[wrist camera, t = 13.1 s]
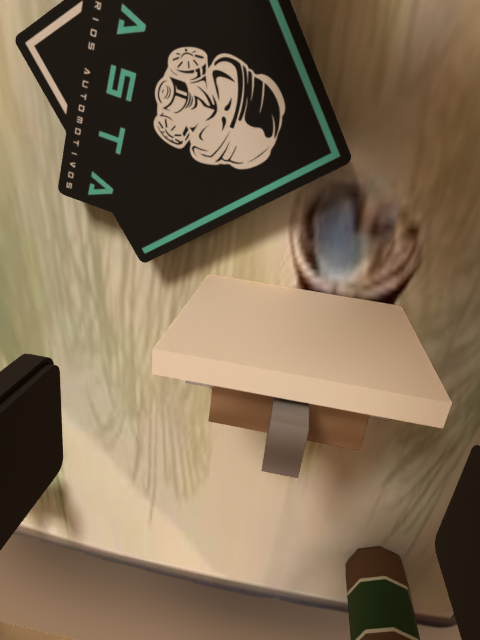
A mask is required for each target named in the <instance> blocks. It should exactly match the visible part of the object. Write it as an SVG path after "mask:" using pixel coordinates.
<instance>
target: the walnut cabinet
mask: <svg viewBox="0 0 480 640" xmlns="http://www.w3.org/2000/svg"><path fill="white" fill-rule="evenodd" d="M368 418H369V415H368V414H363V413H357V412H352V411H347V410H341V409H336V408H331V407H325V406H320V405H315V404H309V403H304V402H299V401H293V400H288V399H283V398H277V397H272V396H267V395H261V394H256V393H251V392H245V391H240V390H235V389H229V388H224V387H219V386H213V388H212V396H211V405H210V414H209V421H210V422H215V423H220V424H225V425H230V426H236V427H241V428H246V429H251V430H256V431H262V432H267V439H266V445H265V452H264V459H263V466H262V471H265V472H270V473H275V474H280V475H285V476H290V477H295V478H298V476H299V471H300V467H301V463H302V458H303V454H304V449H305V445H306V440H308V441H313V442H319V443H324V444H329V445H334V446H339V447H345V448H350V449H355V450H360V446H361V443H362V439H363V436H364V432H365V429H366V425H367V422H368Z"/></svg>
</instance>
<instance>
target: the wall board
mask: <svg viewBox="0 0 480 640" xmlns="http://www.w3.org/2000/svg"><path fill="white" fill-rule="evenodd" d="M152 374H155V375H160V376H165V377H171V378H176V379H181V380H186V382H185V383H190V384H195V385H201V386H206V387H211V388H213V386H219V387H224V388H229V389H235V390H240V391H245V392H251V393H256V394H261V395H267V396H272V397H277V398H283V399H288V400H293V401H299V402H304V403H309V404H315V405H320V406H325V407H331V408H336V409H341V410H347V411H352V412H357V413H363V414H368V415H369V417H371V418H376V419H381V420H388V418H389V419H395V420H400V421H405V422H411V423H416V424H421V425H427V426H432V427H437V428H443V427H444V424H445V421H446V419H447V416H448V413H449V410H450V408H451V405H452V402H451V400H450V398H449V396H448V394H447V392H446V390H445V389H444V387H443V385H442V383H441V381H440V379H439V377H438V375H437V373H436V371H435V369H434V368H433V366H432V364H431V362H430V360H429V358H428V356H427V354H426V352H425V350H424V348H423V347H422V345H421V343H420V341H419V339H418V337H417V335H416V333H415V331H414V329H413V327H412V326H411V324H410V322H409V320H408V318H407V316H406V314H405V312H404V310H403V308H402V306H398V305H392V304H386V303H380V302H374V301H368V300H362V299H356V298H350V297H344V296H338V295H332V294H326V293H320V292H314V291H308V290H302V289H296V288H290V287H284V286H278V285H272V284H266V283H260V282H254V281H248V280H242V279H236V278H230V277H224V276H218V275H212V274H208V275H207V276H206V278H205V279H204V280H203V282H202V283H201V284H200V286H199V287H198V288H197V290H196V291H195V292H194V294H193V295H192V297H191V298H190V299H189V301H188V302H187V303H186V305H185V306H184V307H183V309H182V310H181V311H180V313H179V314H178V315H177V317H176V318H175V319H174V321H173V322H172V324H171V325H170V326H169V328H168V329H167V330H166V332H165V333H164V334H163V336H162V337H161V338H160V340H159V341H158V342H157V344H156V345H155V346H154V348H153V356H152Z"/></svg>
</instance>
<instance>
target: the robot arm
mask: <svg viewBox="0 0 480 640" xmlns="http://www.w3.org/2000/svg"><path fill="white" fill-rule="evenodd" d="M62 462H63V441H62V416H61V391H60V371H59V367H58V366H56V365H54V363H53V361H52V359H51V358H48V357H43V356H37V355H32V354H23V355H21V356H20V357H19V358H18V359H16V360H15V361H14V362H12V363H11V364H10V365H8V366H7V367H6V368H4V369H3V370H2V371H0V550H1V549H2V547H3V546H4V545H5V543H6V542H7V541H8V539H9V538H10V537H11V535H12V534H13V533H14V531H15V530H16V529H17V527H18V526H19V525H20V523H21V522H22V521H23V519H24V518H25V517H26V515H27V514H28V513H29V511H30V510H31V509H32V507H33V506H34V505H35V503H36V502H37V501H38V499H39V498H40V497H41V495H42V494H43V493H44V491H45V490H46V489H47V487H48V486H49V485H50V483H51V482H52V481H53V479H54V478H55V477H56V475H57V474H58V472H59V470H60V468H61V465H62ZM435 549H436V554H437V558H438V561H439V565H440V568H441V571H442V575H443V578H444V581H445V585H446V588H447V591H448V595H449V598H450V601H451V605H452V608H453V612H454V615H455V618H456V622H457V625H458V628H459V632H460V635H461V638H462V640H480V446H479V445H475V446H474V447H473V448H472V450H471V452H470V455H469V457H468V460H467V462H466V464H465V467H464V469H463V472H462V474H461V477H460V479H459V481H458V484H457V486H456V489H455V491H454V494H453V496H452V498H451V501H450V503H449V506H448V508H447V511H446V513H445V515H444V518H443V520H442V523H441V525H440V528H439V530H438V532H437V535H436V540H435ZM0 640H76V639H72V638H68V637H64V636H60V635H55V634H51V633H47V632H43V631H39V630H34V629H30V628H26V627H21V626H17V625H13V624H9V623H4V622H1V621H0Z"/></svg>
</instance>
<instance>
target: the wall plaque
mask: <svg viewBox="0 0 480 640" xmlns="http://www.w3.org/2000/svg"><path fill="white" fill-rule="evenodd" d="M16 44H17V46H18V48H19V50H20V51H21V53H22V55H23V57H24V59H25V60H26V62H27V64H28V66H29V67H30V69H31V71H32V73H33V74H34V76H35V78H36V80H37V81H38V83H39V85H40V87H41V88H42V90H43V92H44V94H45V95H46V97H47V99H48V101H49V102H50V104H51V106H52V108H53V109H54V111H55V113H56V115H57V116H58V118H59V120H60V122H61V123H62V125H63V127H64V129H65V130H66V139H65V145H64V152H63V159H62V165H61V172H60V178H59V185H58V189H59V191H60V193H62V194H63V195H66V196H68V197H71V198H74V199H77V200H79V201H82V202H85V203H88V204H91V205H93V206H96V207H99V208H102V209H104V210H107V211H110V212H112V213H113V214H114V216H115V217H116V219H117V221H118V223H119V225H120V226H121V228H122V230H123V232H124V233H125V235H126V237H127V239H128V240H129V242H130V244H131V246H132V247H133V249H134V251H135V253H136V254H137V256H138V258H139V259H140V261H142V262H148V261H150V260H152V259H154V258H156V257H158V256H160V255H162V254H164V253H166V252H168V251H170V250H172V249H174V248H176V247H178V246H181V245H183V244H185V243H187V242H189V241H191V240H193V239H195V238H197V237H199V236H201V235H203V234H205V233H207V232H209V231H211V230H213V229H215V228H217V227H219V226H221V225H223V224H225V223H227V222H230V221H232V220H234V219H236V218H238V217H240V216H242V215H244V214H246V213H248V212H250V211H252V210H254V209H256V208H258V207H260V206H262V205H264V204H266V203H268V202H270V201H272V200H274V199H276V198H279V197H281V196H283V195H285V194H287V193H289V192H291V191H293V190H295V189H297V188H299V187H301V186H303V185H305V184H307V183H309V182H311V181H313V180H315V179H317V178H319V177H321V176H323V175H325V174H328V173H330V172H332V171H334V170H336V169H338V168H340V167H342V166H344V165H346V164H347V163H348V162H349V161H350V159H351V154H350V152H349V149H348V147H347V144H346V142H345V139H344V137H343V134H342V132H341V129H340V127H339V124H338V121H337V119H336V116H335V114H334V111H333V109H332V106H331V104H330V101H329V99H328V96H327V94H326V91H325V88H324V86H323V83H322V81H321V78H320V76H319V73H318V71H317V68H316V66H315V63H314V61H313V58H312V55H311V53H310V50H309V48H308V45H307V43H306V40H305V38H304V35H303V33H302V30H301V28H300V25H299V23H298V20H297V17H296V15H295V12H294V10H293V7H292V5H291V2H290V0H64V1H62V2H61V3H60V4H58V5H57V6H56V7H54V8H53V9H52V10H50V11H49V12H48V13H46V14H45V15H44V16H42V17H41V18H40V19H38V20H37V21H36V22H34V23H33V24H32V25H30V26H29V27H28V28H26V29H25V30H24V31H22V32H21V33H19V34H18V35H17V36H16Z"/></svg>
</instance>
